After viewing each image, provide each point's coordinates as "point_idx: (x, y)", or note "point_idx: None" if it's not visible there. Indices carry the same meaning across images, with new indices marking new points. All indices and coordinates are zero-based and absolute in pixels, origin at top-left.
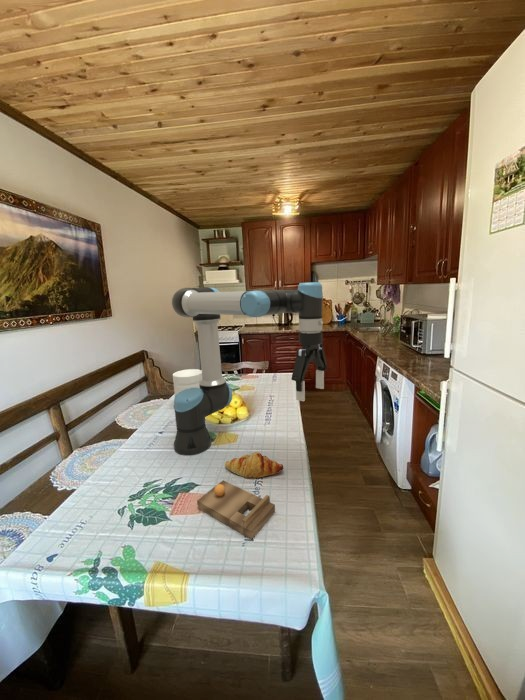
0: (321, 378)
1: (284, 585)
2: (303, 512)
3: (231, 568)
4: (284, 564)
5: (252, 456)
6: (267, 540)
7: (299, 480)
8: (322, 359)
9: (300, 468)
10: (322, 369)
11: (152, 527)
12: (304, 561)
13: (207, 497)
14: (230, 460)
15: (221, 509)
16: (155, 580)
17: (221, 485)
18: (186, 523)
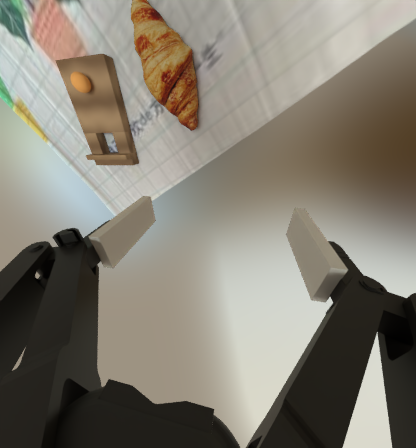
0: (300, 260)
1: (104, 204)
2: (159, 188)
3: (79, 166)
4: (113, 197)
5: (154, 67)
6: (114, 175)
7: (197, 159)
8: (397, 401)
9: (221, 146)
10: (333, 303)
11: (8, 37)
12: (125, 208)
13: (70, 70)
14: (136, 5)
15: (80, 112)
16: (21, 117)
17: (77, 84)
18: (50, 77)
